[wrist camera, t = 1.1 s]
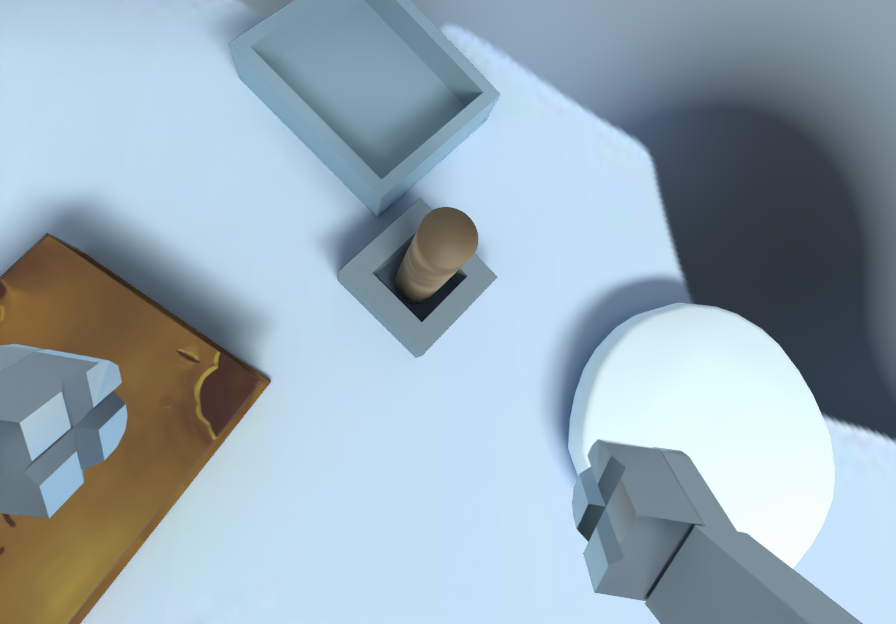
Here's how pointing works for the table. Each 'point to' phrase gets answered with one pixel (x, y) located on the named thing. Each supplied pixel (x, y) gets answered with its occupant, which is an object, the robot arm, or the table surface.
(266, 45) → the tray
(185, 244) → the table surface
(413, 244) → the dowel
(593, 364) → the plate
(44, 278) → the diary
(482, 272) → the socket block
